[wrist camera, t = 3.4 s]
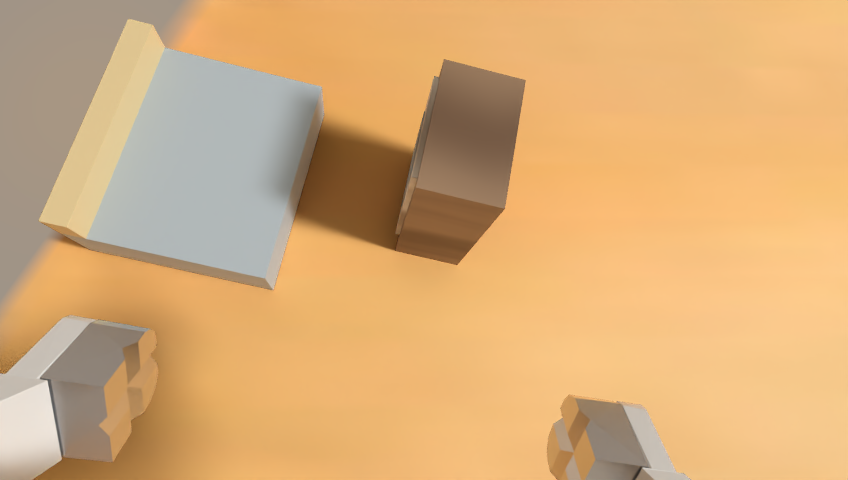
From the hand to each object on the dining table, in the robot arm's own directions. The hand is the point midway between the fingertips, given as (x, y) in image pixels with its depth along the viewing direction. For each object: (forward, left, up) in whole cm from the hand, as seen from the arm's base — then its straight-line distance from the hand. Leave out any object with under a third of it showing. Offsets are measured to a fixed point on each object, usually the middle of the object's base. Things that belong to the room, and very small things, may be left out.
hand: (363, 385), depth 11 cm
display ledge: (+6, +10, -13) cm, 17 cm away
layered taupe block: (+9, 0, -13) cm, 16 cm away
